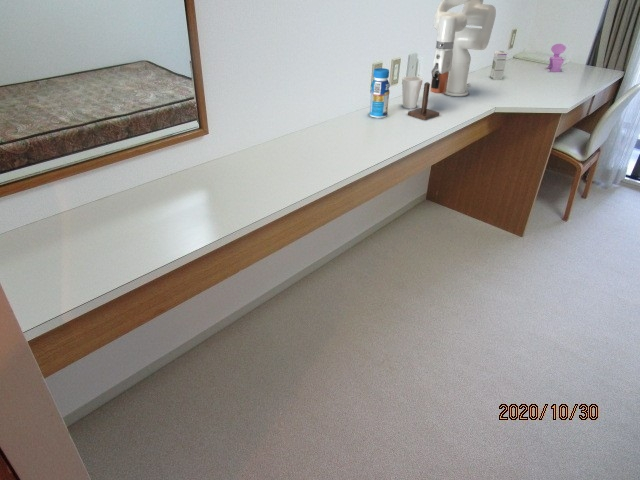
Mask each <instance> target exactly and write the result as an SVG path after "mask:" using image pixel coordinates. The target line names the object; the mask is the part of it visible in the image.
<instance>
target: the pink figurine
mask: <svg viewBox="0 0 640 480" xmlns="http://www.w3.org/2000/svg"><path fill="white" fill-rule="evenodd" d="M566 49H567V47H566V45H565V44H562V43H556V44H554V45H552V46H551V48H550V51H551V52H552V53H553V56H549V64H548V65H547V67H546V69H547V70H549V72H552V73H561V71H562V70H561V67H562V65H563V64H564V62H565V58H563V57H562V56H560V55H561V54H563V53H564V52H565V51H566Z"/></svg>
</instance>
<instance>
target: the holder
mask: <svg viewBox="0 0 640 480" xmlns="http://www.w3.org/2000/svg"><path fill="white" fill-rule="evenodd" d="M430 89H431V83H430V82H425V83H424V84H423V92H422V101H421V107H419V108H414V109H411V110H409V111H407V115H408V116H410V117H414V118H416V119H420V120H423V121H427V120H430V119H433V118H436V117H439V116H440V112H439V111H436V110H432V109H429V108H428V103H429V96H430V95H429V94H430Z"/></svg>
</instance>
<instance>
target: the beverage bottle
mask: <svg viewBox="0 0 640 480" xmlns="http://www.w3.org/2000/svg"><path fill="white" fill-rule="evenodd" d="M372 76H373V80H372V82H371V83H370V87H371V89H370V90H369V91H370V92H369V93H370V96H369V98H370V99H369V116H370V117H372V118H375V119H376V118H377V119H383V118H386V117H388V113H389V112H388V111H389V100H390V87H391V85H390V82H389V77H390V69H389V68H383V67H378V68H374V69H373V75H372Z"/></svg>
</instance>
